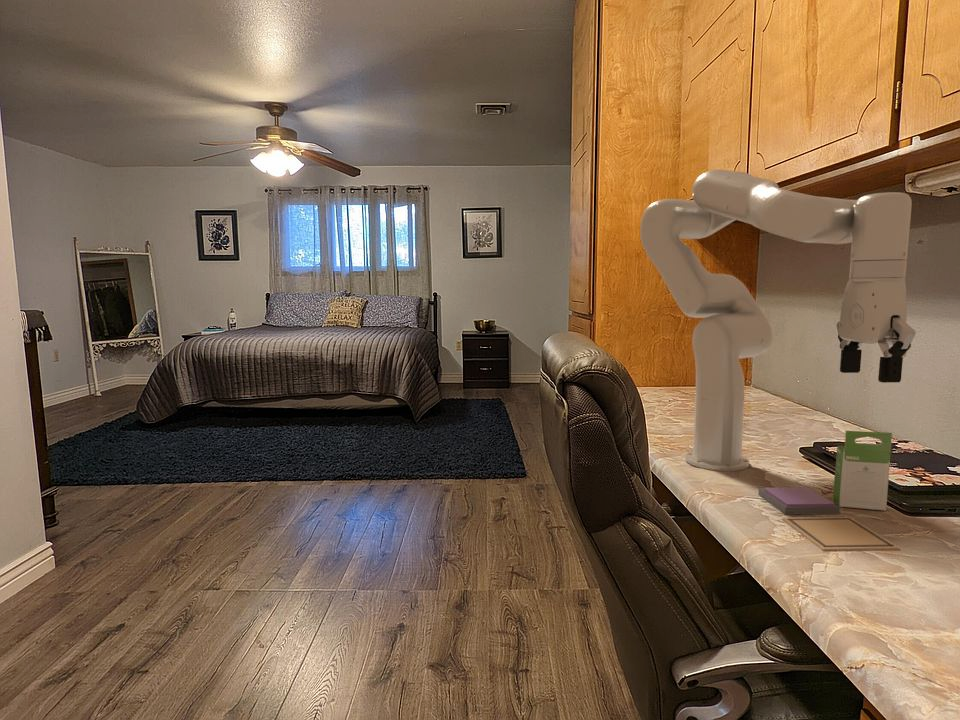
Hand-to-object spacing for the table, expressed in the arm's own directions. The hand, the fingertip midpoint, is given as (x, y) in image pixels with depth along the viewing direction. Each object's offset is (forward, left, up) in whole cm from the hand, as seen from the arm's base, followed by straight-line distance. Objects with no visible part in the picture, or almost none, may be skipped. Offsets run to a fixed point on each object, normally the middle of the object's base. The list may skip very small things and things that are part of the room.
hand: (868, 377), depth 95 cm
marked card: (+11, -10, -22) cm, 27 cm away
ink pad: (-1, -10, -22) cm, 24 cm away
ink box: (0, 0, -22) cm, 23 cm away
